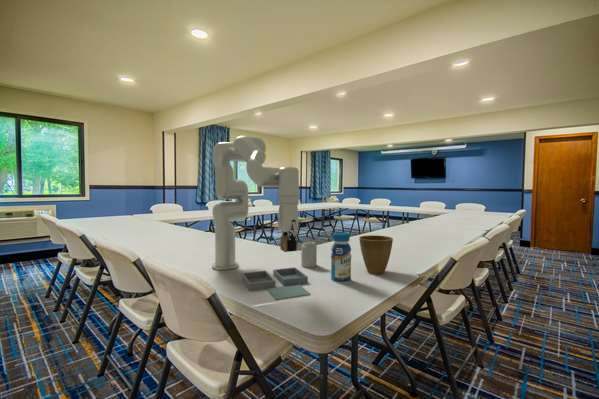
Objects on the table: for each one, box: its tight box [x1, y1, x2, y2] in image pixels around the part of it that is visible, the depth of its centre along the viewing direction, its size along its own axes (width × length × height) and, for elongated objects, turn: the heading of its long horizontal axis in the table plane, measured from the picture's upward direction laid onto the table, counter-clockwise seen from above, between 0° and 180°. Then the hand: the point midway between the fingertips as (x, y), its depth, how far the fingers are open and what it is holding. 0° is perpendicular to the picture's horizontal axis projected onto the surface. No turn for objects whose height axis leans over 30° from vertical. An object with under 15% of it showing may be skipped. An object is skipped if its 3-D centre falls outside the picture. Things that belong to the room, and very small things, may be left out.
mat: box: [266, 284, 311, 301], centre depth 104 cm, size 11×13×1 cm
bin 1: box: [241, 270, 276, 292], centre depth 113 cm, size 14×10×3 cm
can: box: [300, 241, 318, 269], centre depth 138 cm, size 8×8×12 cm
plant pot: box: [358, 234, 394, 275], centre depth 130 cm, size 15×15×16 cm
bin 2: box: [272, 267, 309, 286], centre depth 118 cm, size 14×10×3 cm
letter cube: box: [279, 234, 299, 253], centre depth 105 cm, size 5×5×5 cm
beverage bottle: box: [330, 231, 352, 284], centre depth 117 cm, size 8×8×20 cm
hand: (288, 248), depth 105 cm, fingers closed on letter cube, 4 cm apart
